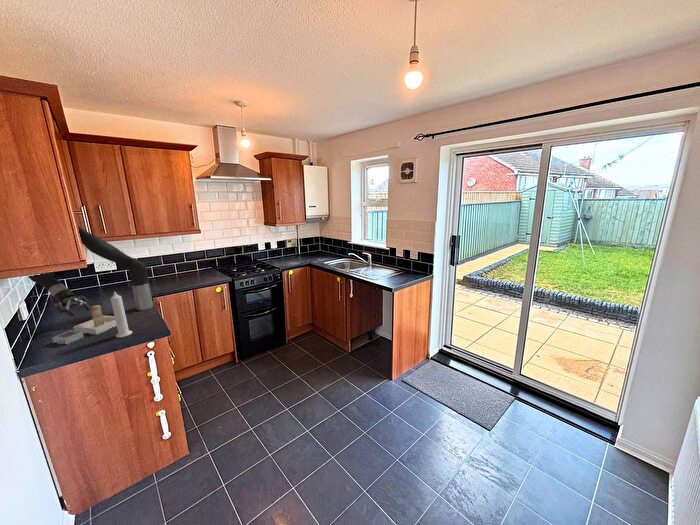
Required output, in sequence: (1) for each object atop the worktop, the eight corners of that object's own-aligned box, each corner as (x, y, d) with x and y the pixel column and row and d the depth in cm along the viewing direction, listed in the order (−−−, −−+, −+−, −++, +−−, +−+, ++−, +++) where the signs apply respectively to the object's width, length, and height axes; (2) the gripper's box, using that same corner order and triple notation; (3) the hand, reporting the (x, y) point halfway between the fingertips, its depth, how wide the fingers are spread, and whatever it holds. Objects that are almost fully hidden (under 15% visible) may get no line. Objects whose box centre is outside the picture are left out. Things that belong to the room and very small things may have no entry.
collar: (72, 336, 156) (70, 330, 156) (83, 337, 155) (82, 331, 154) (53, 343, 148) (52, 337, 148) (66, 344, 147) (64, 338, 146)
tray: (104, 320, 176) (102, 315, 175) (124, 322, 173) (123, 316, 172) (74, 332, 161) (73, 326, 160) (96, 334, 157) (95, 328, 157)
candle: (135, 331, 160) (126, 289, 154) (126, 337, 153) (116, 293, 147) (122, 331, 160) (113, 289, 154) (112, 337, 153) (102, 294, 147)
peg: (96, 325, 168) (91, 306, 165) (105, 323, 169) (101, 304, 167) (93, 327, 164) (88, 308, 161) (103, 326, 165) (98, 307, 163)
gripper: (49, 292, 159) (70, 313, 159) (77, 285, 173) (96, 303, 173) (44, 301, 161) (65, 321, 161) (72, 293, 175) (91, 311, 175)
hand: (81, 312), depth 167 cm, fingers open, 8 cm apart
